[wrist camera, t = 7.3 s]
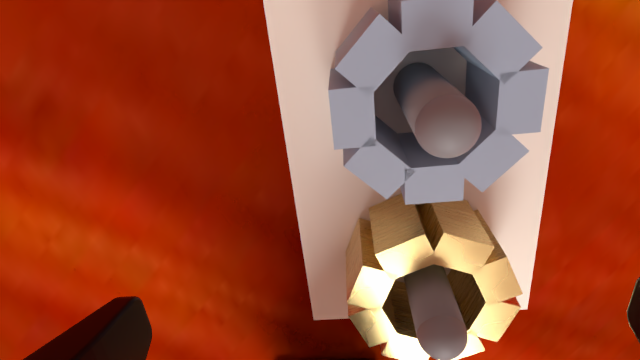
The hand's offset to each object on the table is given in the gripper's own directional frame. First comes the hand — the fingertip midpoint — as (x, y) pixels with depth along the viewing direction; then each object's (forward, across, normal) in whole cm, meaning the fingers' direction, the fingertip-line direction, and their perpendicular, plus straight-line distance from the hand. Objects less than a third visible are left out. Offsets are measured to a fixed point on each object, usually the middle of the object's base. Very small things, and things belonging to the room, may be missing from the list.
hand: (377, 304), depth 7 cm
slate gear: (+10, -2, -2) cm, 11 cm away
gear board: (+12, -2, +2) cm, 12 cm away
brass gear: (+10, -3, +6) cm, 12 cm away
